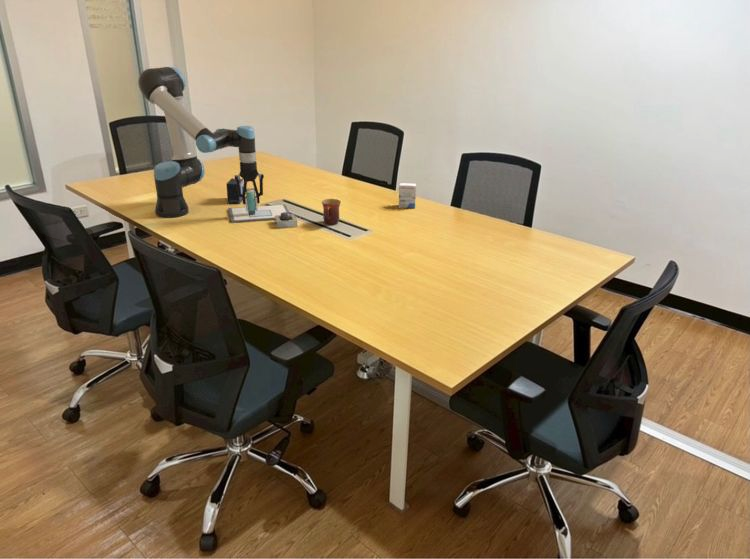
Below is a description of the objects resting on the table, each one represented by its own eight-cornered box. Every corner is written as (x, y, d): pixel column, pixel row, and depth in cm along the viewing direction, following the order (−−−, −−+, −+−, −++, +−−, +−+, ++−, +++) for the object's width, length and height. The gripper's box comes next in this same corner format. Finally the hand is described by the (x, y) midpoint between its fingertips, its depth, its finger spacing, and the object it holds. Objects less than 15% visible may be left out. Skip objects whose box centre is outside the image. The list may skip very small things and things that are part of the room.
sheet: (231, 223, 260) (231, 220, 260) (228, 209, 277) (228, 207, 277) (292, 218, 268) (292, 216, 268) (285, 206, 285) (285, 203, 285)
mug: (324, 218, 269) (324, 198, 265) (342, 220, 268) (342, 199, 263) (317, 227, 258) (317, 205, 254) (336, 229, 257) (336, 207, 253)
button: (281, 222, 258) (281, 215, 256) (280, 219, 261) (280, 212, 260) (291, 221, 259) (291, 215, 257) (289, 218, 263) (289, 212, 261)
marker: (248, 215, 267) (246, 190, 262) (247, 212, 270) (245, 188, 265) (256, 214, 268) (255, 190, 263) (255, 212, 272) (254, 187, 266)
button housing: (277, 228, 256) (277, 221, 254) (274, 221, 264) (274, 215, 262) (297, 226, 258) (297, 220, 257) (294, 220, 266) (293, 214, 265)
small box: (240, 204, 286) (238, 184, 282) (227, 203, 286) (225, 183, 282) (245, 198, 296) (243, 178, 291) (232, 197, 296) (230, 178, 291)
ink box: (415, 205, 292) (416, 183, 287) (414, 208, 287) (416, 186, 282) (398, 204, 293) (399, 182, 288) (398, 207, 288) (399, 185, 283)
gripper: (229, 164, 253) (234, 214, 263) (267, 162, 258) (270, 211, 268) (228, 160, 260) (232, 209, 269) (265, 158, 264) (268, 206, 274)
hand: (251, 210), depth 268 cm, fingers closed on marker, 4 cm apart
